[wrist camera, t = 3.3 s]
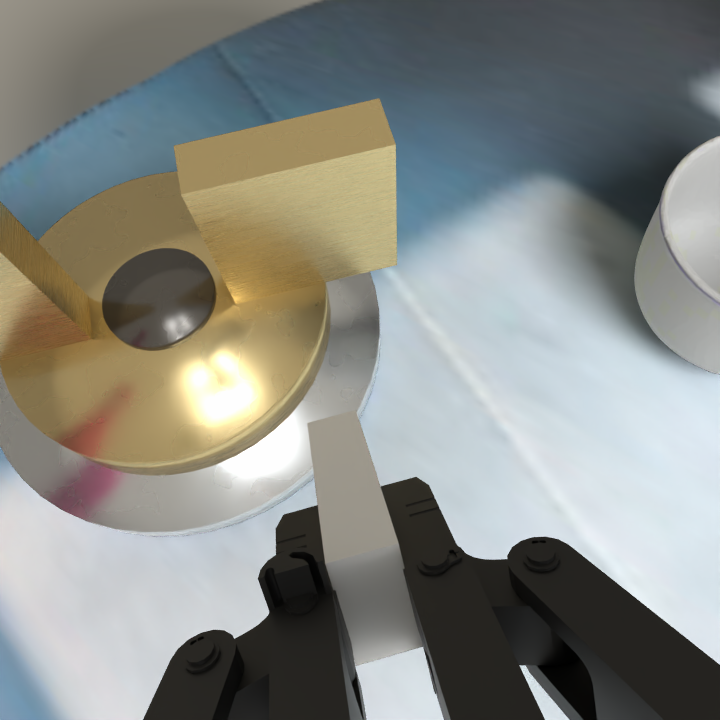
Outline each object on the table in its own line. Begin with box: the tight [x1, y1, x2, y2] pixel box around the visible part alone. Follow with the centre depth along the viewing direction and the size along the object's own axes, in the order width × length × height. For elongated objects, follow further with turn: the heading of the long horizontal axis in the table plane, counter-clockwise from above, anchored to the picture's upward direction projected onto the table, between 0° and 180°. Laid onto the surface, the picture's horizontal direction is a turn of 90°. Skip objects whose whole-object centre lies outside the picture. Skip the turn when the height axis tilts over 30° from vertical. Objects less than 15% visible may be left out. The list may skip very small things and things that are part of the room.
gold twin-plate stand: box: [0, 99, 397, 476], centre depth 27 cm, size 18×17×10 cm
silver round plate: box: [0, 272, 380, 537], centre depth 33 cm, size 21×21×2 cm
